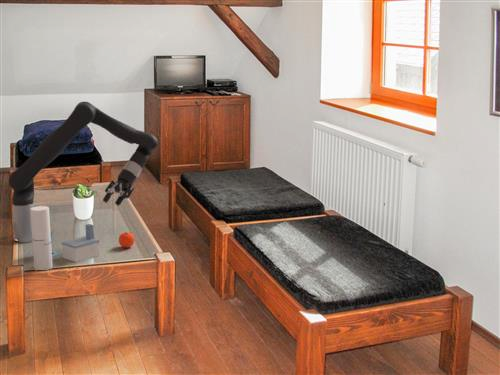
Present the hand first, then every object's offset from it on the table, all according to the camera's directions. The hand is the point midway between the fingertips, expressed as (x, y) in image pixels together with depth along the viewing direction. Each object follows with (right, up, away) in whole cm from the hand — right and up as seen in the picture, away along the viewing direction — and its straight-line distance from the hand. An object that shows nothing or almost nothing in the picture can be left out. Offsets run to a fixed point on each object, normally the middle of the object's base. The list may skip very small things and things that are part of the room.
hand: (110, 203), depth 327 cm
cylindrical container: (-23, -26, -22) cm, 41 cm away
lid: (-11, -18, -9) cm, 23 cm away
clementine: (+6, -20, +6) cm, 22 cm away
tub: (-11, -23, -8) cm, 26 cm away
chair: (-27, -23, -7) cm, 36 cm away
